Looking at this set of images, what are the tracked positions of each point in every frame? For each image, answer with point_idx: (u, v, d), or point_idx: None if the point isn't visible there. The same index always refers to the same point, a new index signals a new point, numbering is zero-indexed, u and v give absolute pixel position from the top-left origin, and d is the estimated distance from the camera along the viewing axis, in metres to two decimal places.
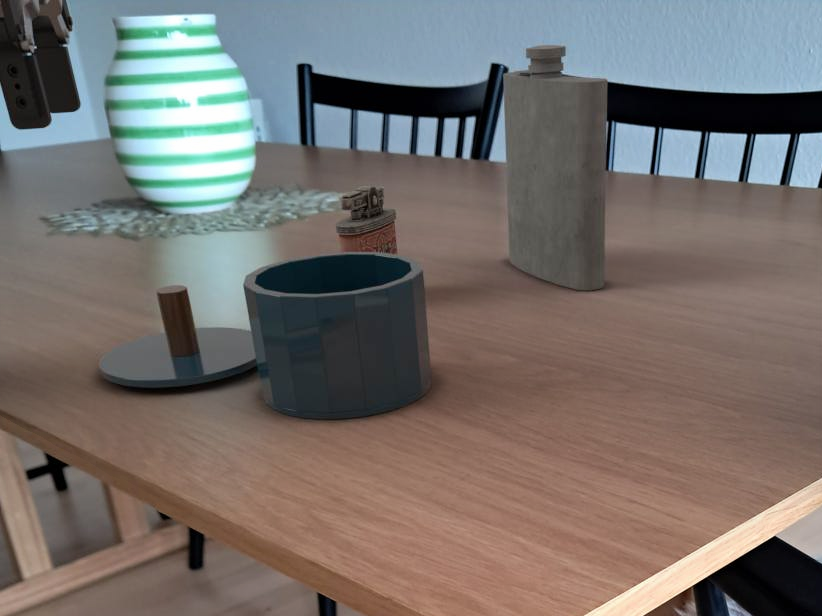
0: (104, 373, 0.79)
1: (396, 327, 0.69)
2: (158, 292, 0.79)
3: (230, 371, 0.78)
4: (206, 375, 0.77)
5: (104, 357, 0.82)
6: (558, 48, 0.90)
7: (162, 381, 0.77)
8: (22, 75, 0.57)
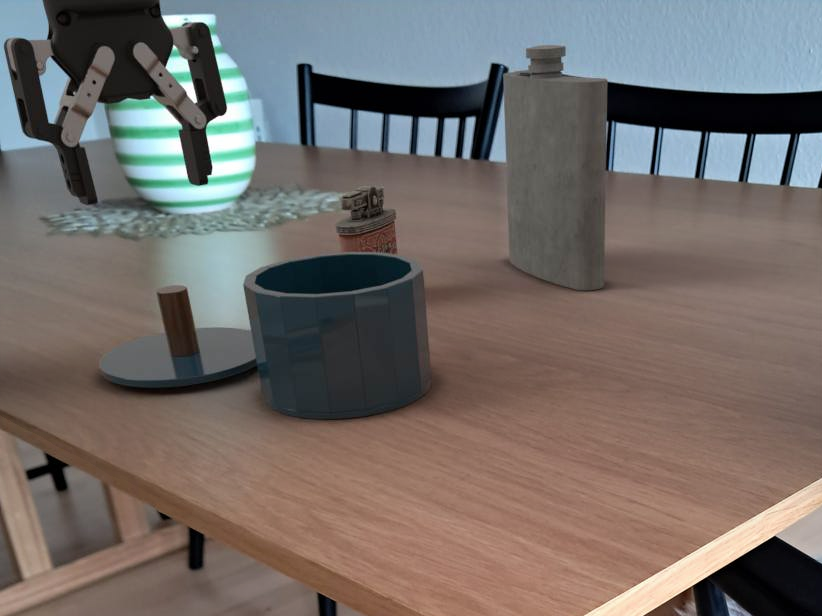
0: (104, 373, 0.79)
1: (396, 327, 0.69)
2: (158, 292, 0.79)
3: (230, 371, 0.78)
4: (206, 375, 0.77)
5: (104, 357, 0.82)
6: (558, 48, 0.90)
7: (162, 381, 0.77)
8: (65, 163, 0.70)
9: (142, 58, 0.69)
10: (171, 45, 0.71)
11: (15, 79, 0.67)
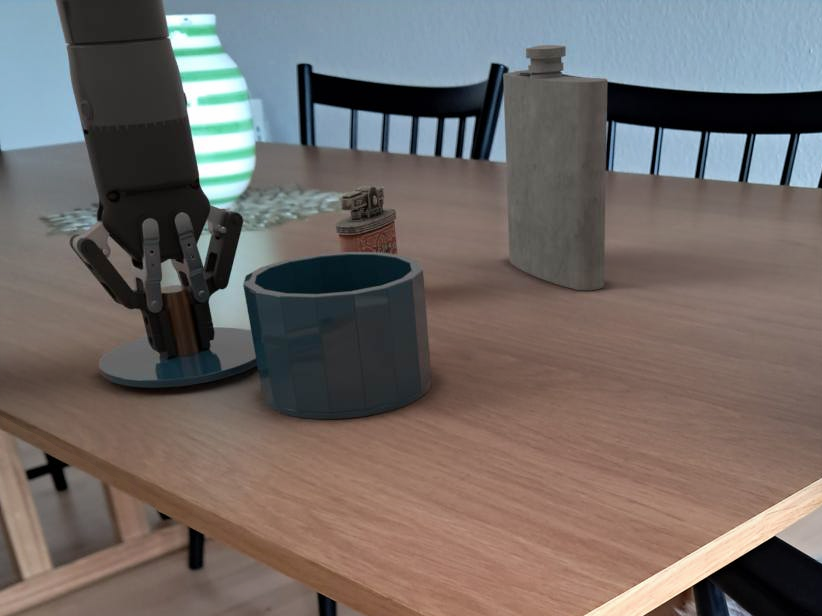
0: (104, 373, 0.79)
1: (396, 327, 0.69)
2: None
3: (230, 371, 0.78)
4: (206, 375, 0.77)
5: (104, 357, 0.82)
6: (558, 48, 0.90)
7: (162, 381, 0.77)
8: (149, 325, 0.79)
9: (183, 226, 0.76)
10: (208, 211, 0.78)
11: (92, 269, 0.76)
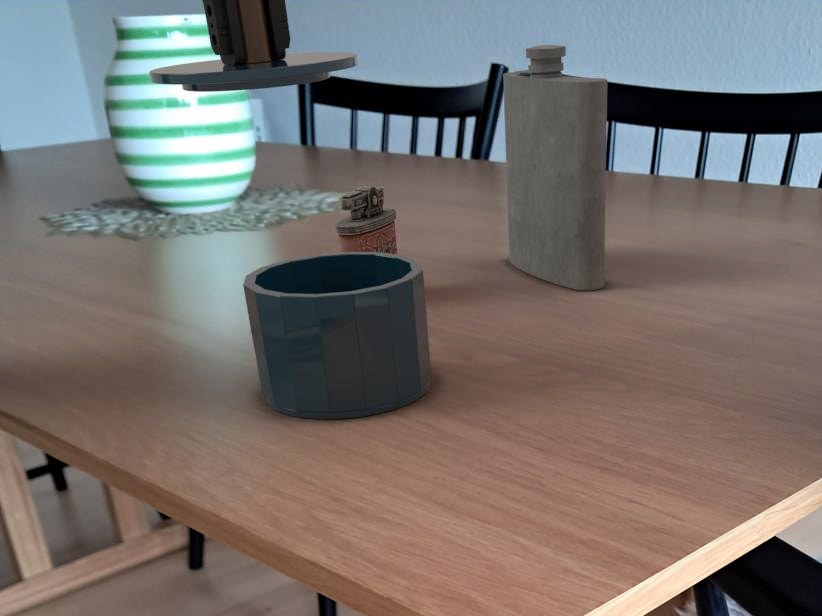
0: (158, 75, 0.63)
1: (396, 327, 0.69)
2: None
3: (316, 66, 0.63)
4: (287, 67, 0.62)
5: (155, 69, 0.66)
6: (558, 48, 0.90)
7: (233, 73, 0.61)
8: (213, 15, 0.64)
9: None
10: None
11: None
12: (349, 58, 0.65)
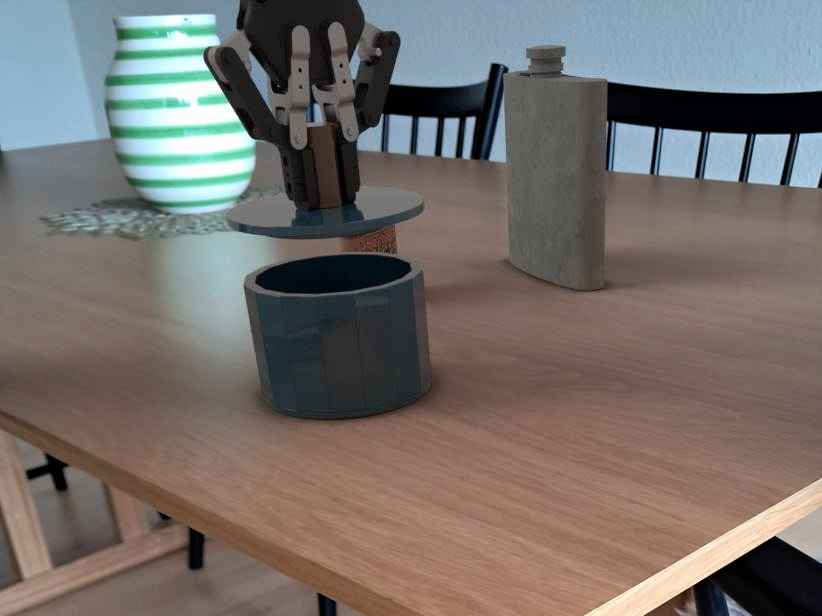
0: (236, 224, 0.66)
1: (396, 327, 0.69)
2: None
3: (389, 219, 0.65)
4: (362, 222, 0.64)
5: (230, 211, 0.69)
6: (558, 48, 0.90)
7: (311, 228, 0.64)
8: (289, 166, 0.66)
9: (336, 39, 0.63)
10: (363, 26, 0.65)
11: (228, 90, 0.63)
12: (418, 206, 0.68)
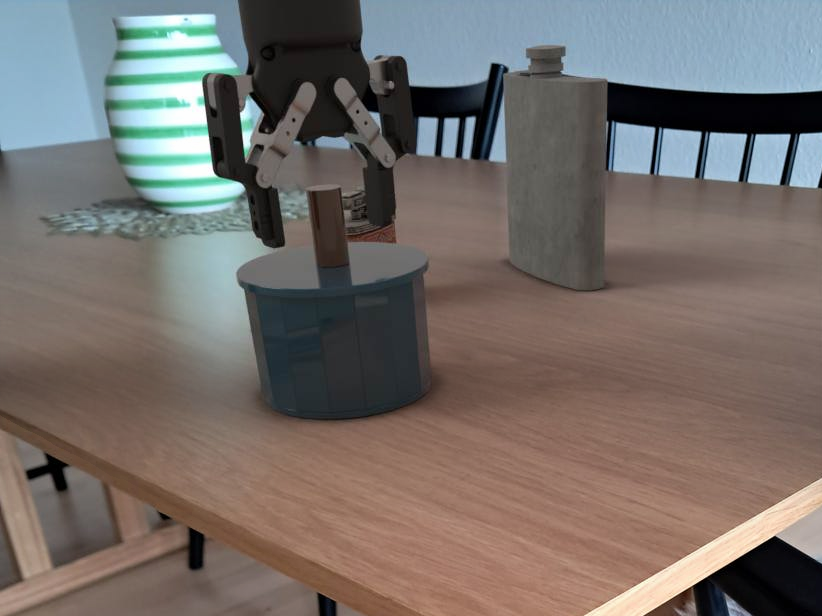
0: (246, 284, 0.68)
1: (396, 327, 0.69)
2: (309, 190, 0.68)
3: (394, 280, 0.67)
4: (369, 284, 0.66)
5: (240, 269, 0.71)
6: (558, 48, 0.90)
7: (319, 290, 0.66)
8: (256, 205, 0.66)
9: (342, 94, 0.65)
10: (368, 80, 0.66)
11: (213, 116, 0.63)
12: (423, 266, 0.70)
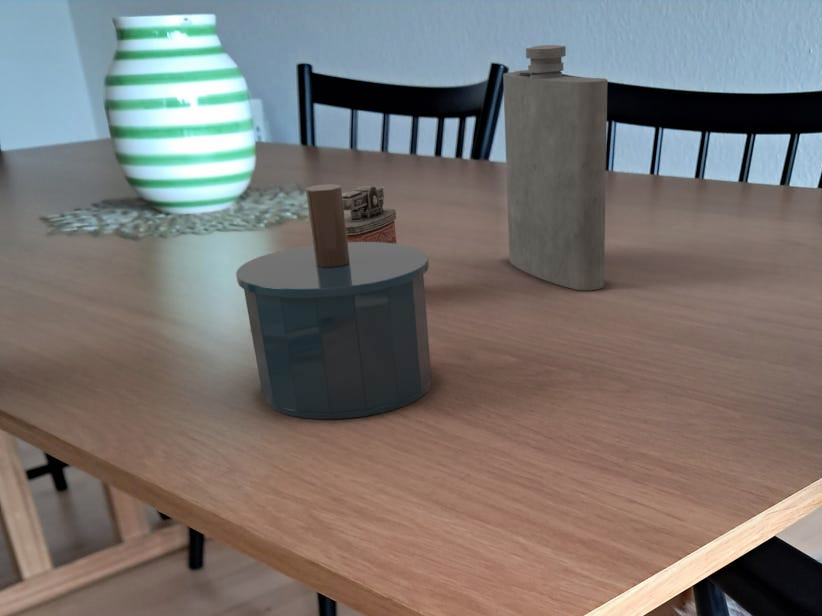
0: (246, 284, 0.68)
1: (396, 327, 0.69)
2: (309, 190, 0.68)
3: (394, 280, 0.67)
4: (369, 284, 0.66)
5: (240, 269, 0.71)
6: (558, 48, 0.90)
7: (319, 290, 0.66)
8: None
9: None
10: None
11: None
12: (423, 266, 0.70)
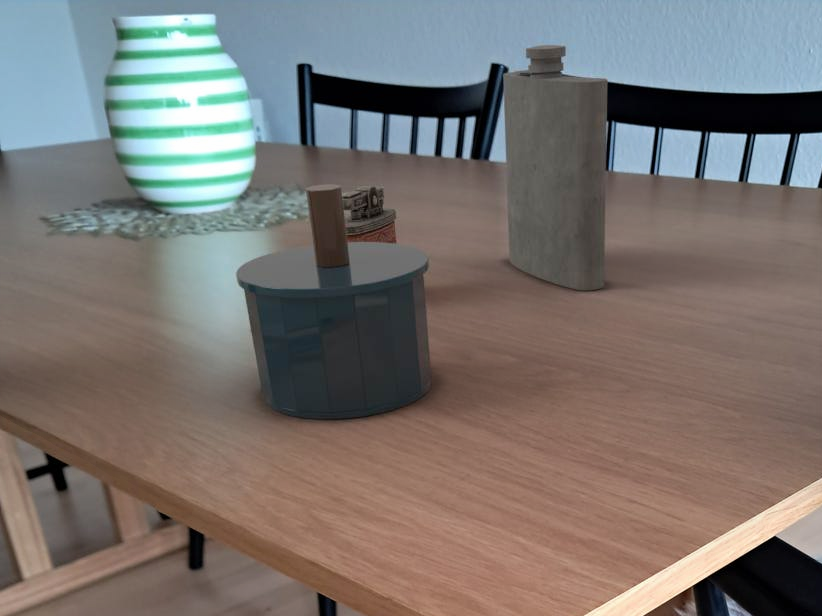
0: (246, 284, 0.68)
1: (396, 327, 0.69)
2: (309, 190, 0.68)
3: (394, 280, 0.67)
4: (369, 284, 0.66)
5: (240, 269, 0.71)
6: (558, 48, 0.90)
7: (319, 290, 0.66)
8: None
9: None
10: None
11: None
12: (423, 266, 0.70)
